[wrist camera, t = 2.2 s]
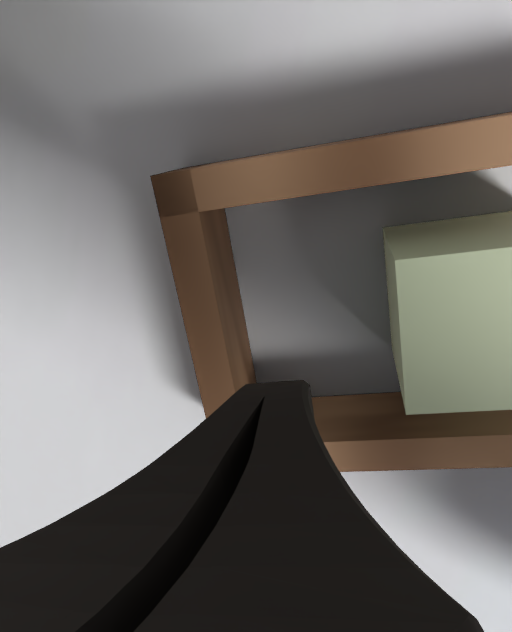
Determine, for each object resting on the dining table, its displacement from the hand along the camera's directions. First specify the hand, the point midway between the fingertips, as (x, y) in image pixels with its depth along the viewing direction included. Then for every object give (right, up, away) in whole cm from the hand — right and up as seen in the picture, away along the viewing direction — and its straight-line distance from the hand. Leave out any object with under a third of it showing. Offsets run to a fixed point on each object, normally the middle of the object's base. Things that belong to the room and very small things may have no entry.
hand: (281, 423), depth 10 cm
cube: (+6, +3, +7) cm, 10 cm away
